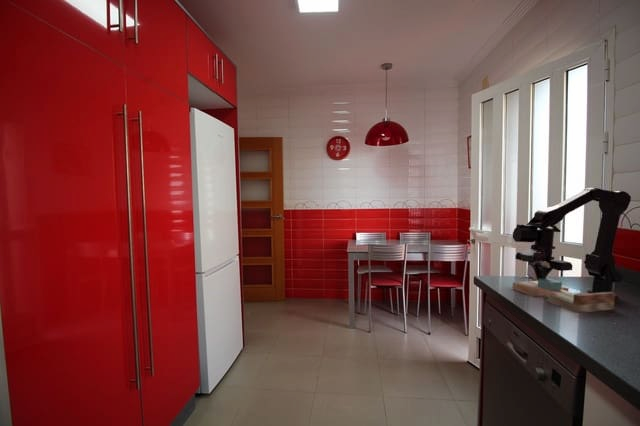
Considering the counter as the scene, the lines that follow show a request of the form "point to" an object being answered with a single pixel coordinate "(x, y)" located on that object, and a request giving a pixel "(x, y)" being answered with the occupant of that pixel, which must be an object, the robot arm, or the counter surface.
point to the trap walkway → (569, 297)
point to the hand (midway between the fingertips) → (540, 282)
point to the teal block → (549, 284)
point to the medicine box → (531, 272)
